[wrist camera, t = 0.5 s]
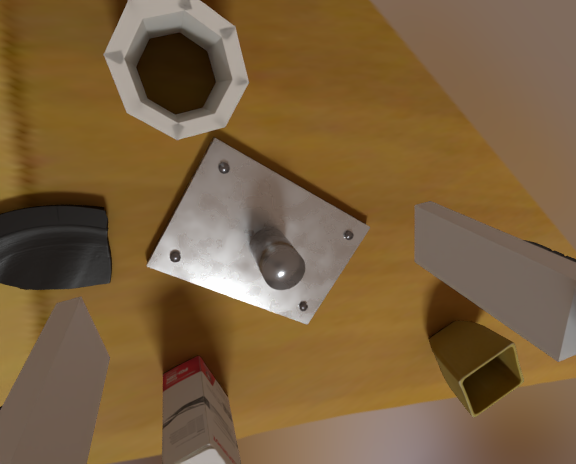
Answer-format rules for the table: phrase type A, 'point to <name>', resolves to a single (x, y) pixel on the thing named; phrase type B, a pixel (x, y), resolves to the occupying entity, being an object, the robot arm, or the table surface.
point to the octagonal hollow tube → (200, 29)
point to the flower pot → (476, 364)
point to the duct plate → (239, 218)
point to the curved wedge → (55, 247)
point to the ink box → (196, 418)
